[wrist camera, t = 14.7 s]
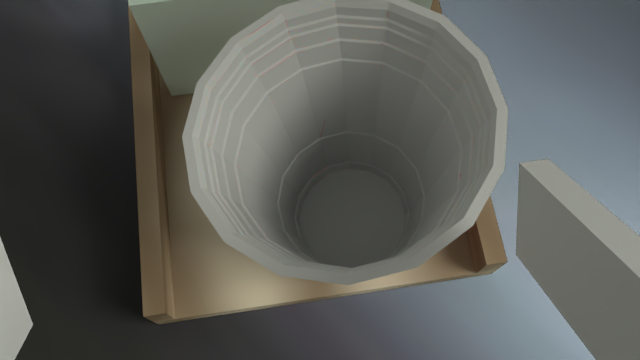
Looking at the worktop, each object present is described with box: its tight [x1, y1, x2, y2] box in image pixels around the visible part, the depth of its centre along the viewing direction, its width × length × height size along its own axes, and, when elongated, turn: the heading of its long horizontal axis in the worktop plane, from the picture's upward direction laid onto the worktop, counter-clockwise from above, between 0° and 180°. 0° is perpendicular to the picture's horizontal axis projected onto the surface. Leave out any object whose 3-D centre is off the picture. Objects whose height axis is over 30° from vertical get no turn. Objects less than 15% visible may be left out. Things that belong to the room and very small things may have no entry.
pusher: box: [128, 0, 433, 96], centre depth 30 cm, size 14×1×8 cm, turn 99°
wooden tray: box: [128, 0, 508, 324], centre depth 30 cm, size 17×19×8 cm
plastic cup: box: [182, 0, 508, 285], centre depth 25 cm, size 11×11×12 cm
